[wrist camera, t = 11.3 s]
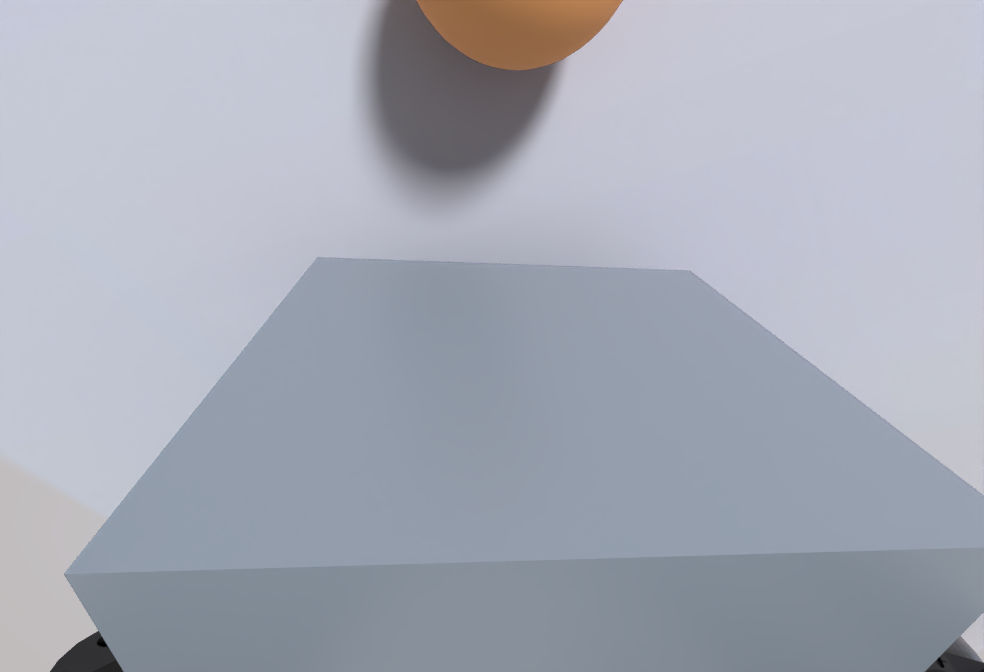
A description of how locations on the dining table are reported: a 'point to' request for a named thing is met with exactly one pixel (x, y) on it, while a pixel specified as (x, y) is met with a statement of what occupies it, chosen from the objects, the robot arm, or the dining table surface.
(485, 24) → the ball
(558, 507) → the matte gray-blue box
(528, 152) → the dining table surface
